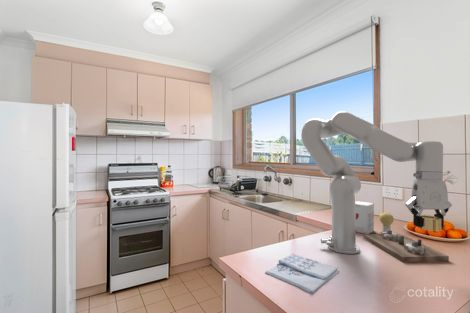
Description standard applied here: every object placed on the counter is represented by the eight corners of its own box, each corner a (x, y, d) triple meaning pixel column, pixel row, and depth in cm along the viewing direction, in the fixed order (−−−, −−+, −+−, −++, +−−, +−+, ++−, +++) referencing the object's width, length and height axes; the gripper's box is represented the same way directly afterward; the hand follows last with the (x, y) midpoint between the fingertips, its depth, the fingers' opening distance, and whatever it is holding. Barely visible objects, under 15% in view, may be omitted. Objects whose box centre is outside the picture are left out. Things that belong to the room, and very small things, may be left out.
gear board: (402, 262, 91) (402, 245, 91) (363, 238, 117) (363, 225, 117) (448, 261, 92) (448, 244, 92) (399, 238, 118) (399, 224, 118)
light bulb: (395, 233, 124) (395, 214, 124) (382, 233, 125) (382, 213, 125) (390, 230, 130) (390, 211, 130) (377, 229, 132) (377, 211, 132)
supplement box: (349, 230, 130) (349, 202, 130) (356, 227, 136) (356, 200, 136) (368, 234, 123) (368, 205, 123) (374, 230, 129) (374, 203, 129)
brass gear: (426, 231, 82) (427, 219, 82) (411, 225, 89) (411, 214, 89) (446, 231, 82) (446, 219, 82) (429, 225, 89) (429, 214, 89)
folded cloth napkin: (340, 273, 84) (340, 267, 84) (311, 297, 70) (311, 289, 70) (292, 256, 98) (292, 251, 98) (261, 273, 84) (261, 267, 84)
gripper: (413, 177, 81) (412, 229, 82) (462, 177, 82) (462, 229, 82) (397, 175, 89) (396, 223, 89) (443, 175, 89) (442, 223, 90)
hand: (428, 225), depth 86 cm, fingers closed on brass gear, 7 cm apart
